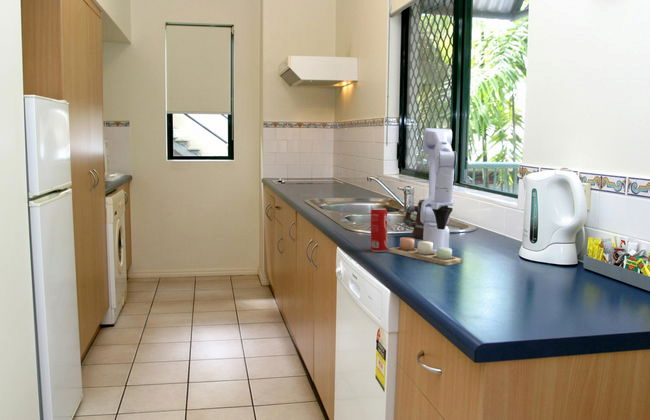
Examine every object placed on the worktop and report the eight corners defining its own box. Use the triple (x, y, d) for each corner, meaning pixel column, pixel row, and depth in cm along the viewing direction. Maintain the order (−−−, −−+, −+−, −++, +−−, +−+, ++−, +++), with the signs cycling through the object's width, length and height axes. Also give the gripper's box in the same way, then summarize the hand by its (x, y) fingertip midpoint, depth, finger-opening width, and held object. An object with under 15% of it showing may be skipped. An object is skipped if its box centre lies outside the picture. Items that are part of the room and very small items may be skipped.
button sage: (442, 257, 205) (443, 247, 204) (454, 260, 201) (455, 249, 201) (432, 259, 202) (433, 248, 201) (445, 261, 198) (445, 251, 197)
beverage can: (386, 253, 211) (388, 210, 209) (367, 251, 212) (369, 208, 211) (388, 250, 217) (390, 208, 215) (369, 248, 218) (372, 206, 216)
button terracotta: (406, 246, 217) (406, 236, 216) (417, 249, 213) (417, 239, 213) (396, 248, 213) (397, 238, 213) (407, 250, 210) (408, 240, 209)
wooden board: (405, 249, 220) (405, 246, 220) (463, 262, 201) (463, 258, 201) (388, 251, 214) (388, 248, 214) (446, 265, 195) (446, 261, 195)
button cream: (423, 250, 211) (424, 240, 210) (435, 253, 207) (436, 242, 207) (414, 252, 207) (414, 241, 207) (425, 254, 204) (426, 244, 203)
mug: (436, 235, 254) (438, 199, 252) (445, 240, 242) (448, 202, 240) (399, 234, 252) (401, 198, 250) (407, 239, 240) (409, 201, 238)
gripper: (440, 185, 210) (438, 225, 211) (423, 188, 197) (420, 230, 199) (460, 187, 206) (457, 227, 208) (444, 190, 194) (441, 232, 195)
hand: (441, 229), depth 203 cm, fingers closed
